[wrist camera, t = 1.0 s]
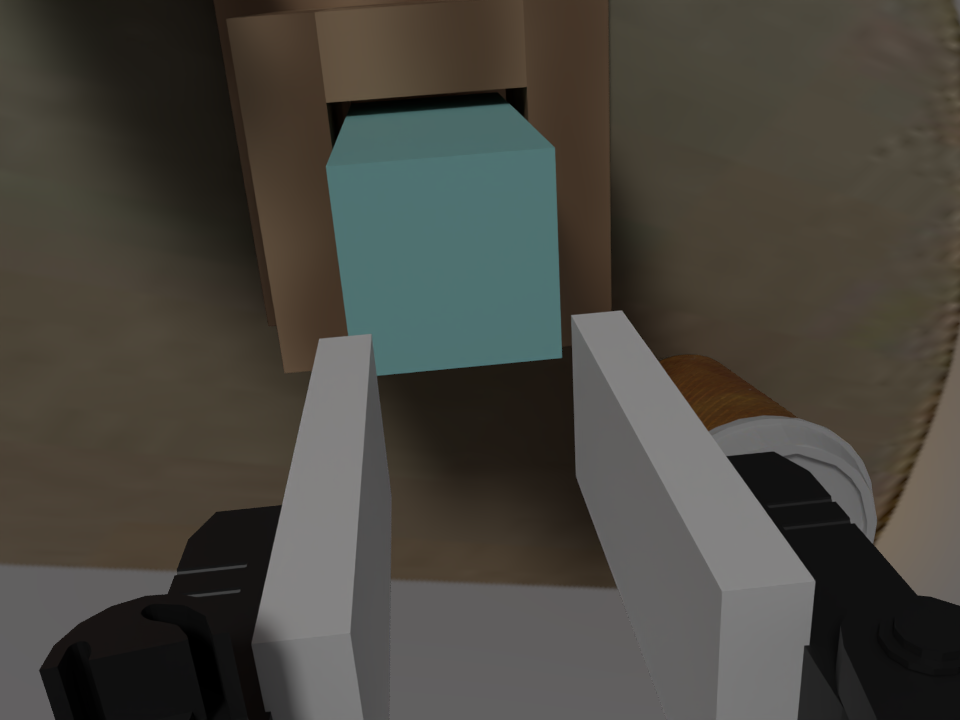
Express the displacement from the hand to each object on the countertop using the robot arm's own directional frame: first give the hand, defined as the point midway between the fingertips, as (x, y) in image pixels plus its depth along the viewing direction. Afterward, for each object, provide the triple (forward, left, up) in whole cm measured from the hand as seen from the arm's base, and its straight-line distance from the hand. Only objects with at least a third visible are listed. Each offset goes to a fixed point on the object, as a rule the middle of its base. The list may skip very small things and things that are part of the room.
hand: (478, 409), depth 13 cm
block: (0, 0, -20) cm, 20 cm away
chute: (0, 0, -29) cm, 29 cm away
